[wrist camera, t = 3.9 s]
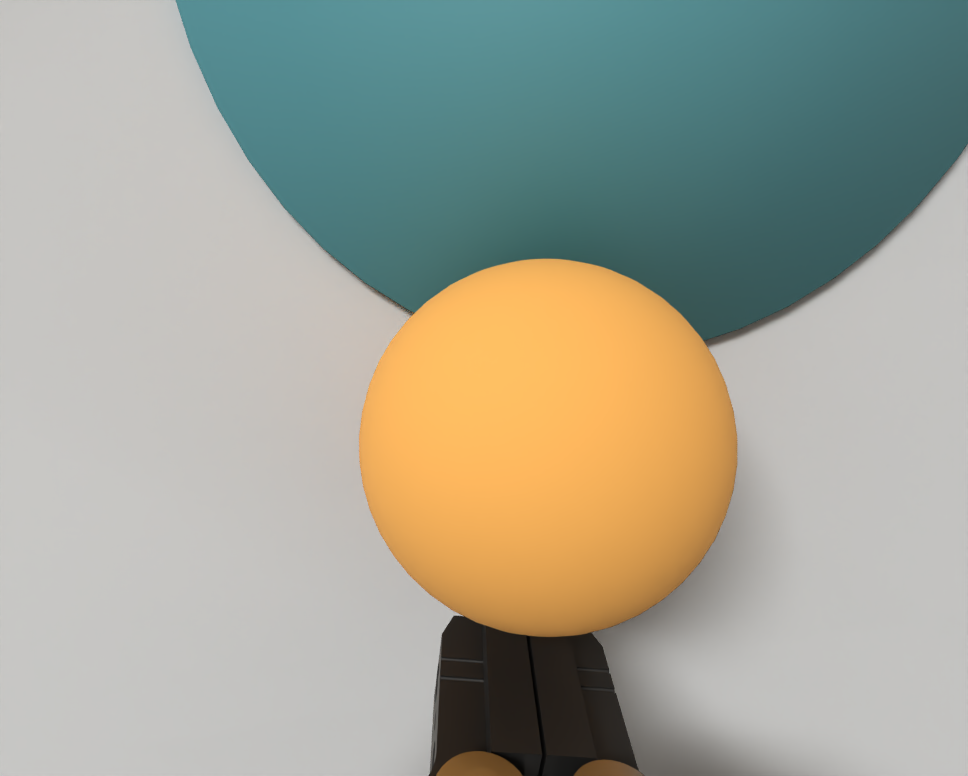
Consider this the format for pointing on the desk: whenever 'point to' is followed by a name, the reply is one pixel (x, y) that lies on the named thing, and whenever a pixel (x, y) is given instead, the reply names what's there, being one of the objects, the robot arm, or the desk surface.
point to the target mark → (595, 134)
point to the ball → (548, 447)
